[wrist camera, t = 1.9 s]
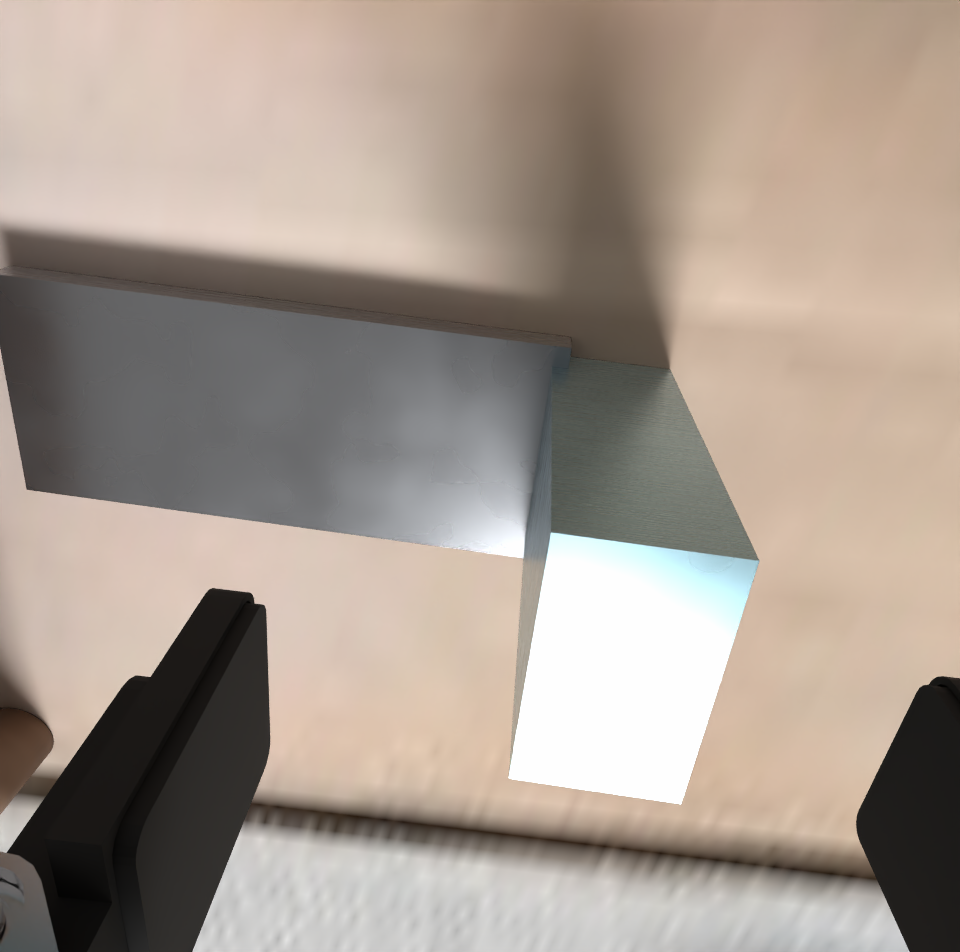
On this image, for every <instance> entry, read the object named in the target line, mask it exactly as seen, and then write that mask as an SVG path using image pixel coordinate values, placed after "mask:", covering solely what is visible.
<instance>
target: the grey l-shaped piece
mask: <svg viewBox="0 0 960 952" xmlns="http://www.w3.org/2000/svg"><path fill="white" fill-rule="evenodd" d="M0 349H1V354H2V359H3V365H4V370H5V375H6V381H7V386H8V391H9V397H10V402H11V407H12V413H13V418H14V424H15V429H16V434H17V440H18V445H19V450H20V456H21V461H22V466H23V472H24V477H25V482H26V488H27V490H33V491H41V492H48V493H55V494H62V495H70V496H77V497H84V498H91V499H99V500H106V501H113V502H120V503H128V504H135V505H142V506H149V507H157V508H164V509H171V510H178V511H186V512H193V513H200V514H207V515H214V516H222V517H229V518H236V519H243V520H251V521H258V522H265V523H272V524H280V525H287V526H294V527H301V528H309V529H316V530H323V531H330V532H338V533H345V534H352V535H359V536H367V537H374V538H381V539H388V540H395V541H403V542H410V543H417V544H424V545H432V546H439V547H446V548H453V549H461V550H468V551H475V552H482V553H490V554H497V555H504V556H511V557H519V558H524V559H523V574H522V589H521V604H520V619H519V634H518V649H517V664H516V679H515V694H514V709H513V724H512V739H511V753H510V768H509V778H510V779H516V780H523V781H530V782H537V783H543V784H550V785H557V786H564V787H570V788H577V789H584V790H591V791H597V792H604V793H611V794H618V795H624V796H631V797H638V798H645V799H651V800H658V801H665V802H672V803H678V804H681V802H682V799H683V796H684V792H685V789H686V786H687V783H688V780H689V777H690V774H691V771H692V768H693V765H694V762H695V758H696V755H697V752H698V749H699V746H700V743H701V740H702V737H703V734H704V731H705V728H706V724H707V721H708V718H709V715H710V712H711V709H712V706H713V703H714V700H715V697H716V693H717V690H718V687H719V684H720V681H721V678H722V675H723V672H724V669H725V666H726V663H727V659H728V656H729V653H730V650H731V647H732V644H733V641H734V638H735V635H736V632H737V629H738V625H739V622H740V619H741V616H742V613H743V610H744V607H745V604H746V601H747V598H748V595H749V591H750V588H751V585H752V582H753V579H754V576H755V573H756V570H757V567H758V564H759V559H758V557H757V555H756V553H755V551H754V548H753V546H752V544H751V542H750V540H749V538H748V536H747V533H746V531H745V529H744V527H743V525H742V523H741V520H740V518H739V516H738V514H737V512H736V510H735V508H734V505H733V503H732V501H731V499H730V497H729V495H728V493H727V490H726V488H725V486H724V484H723V482H722V480H721V478H720V475H719V473H718V471H717V469H716V467H715V465H714V463H713V460H712V458H711V456H710V454H709V452H708V450H707V447H706V445H705V443H704V441H703V439H702V437H701V435H700V432H699V430H698V428H697V426H696V424H695V422H694V420H693V417H692V415H691V413H690V411H689V409H688V407H687V405H686V402H685V400H684V398H683V396H682V394H681V392H680V389H679V387H678V385H677V383H676V381H675V379H674V377H673V374H672V372H671V370H670V369H663V368H655V367H647V366H639V365H632V364H624V363H616V362H608V361H600V360H593V359H585V358H577V357H570V355H571V349H572V346H571V337H566V336H559V335H551V334H543V333H535V332H527V331H520V330H512V329H504V328H496V327H488V326H480V325H473V324H465V323H457V322H449V321H441V320H433V319H426V318H418V317H410V316H402V315H394V314H387V313H379V312H371V311H363V310H355V309H347V308H340V307H332V306H324V305H316V304H308V303H301V302H293V301H285V300H277V299H269V298H261V297H254V296H246V295H238V294H230V293H222V292H215V291H207V290H199V289H191V288H183V287H175V286H168V285H160V284H152V283H144V282H136V281H128V280H121V279H113V278H105V277H97V276H89V275H82V274H74V273H66V272H58V271H50V270H42V269H35V268H27V267H19V266H10V267H7V268H3V269H0Z"/></svg>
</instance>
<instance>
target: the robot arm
mask: <svg viewBox="0 0 960 952" xmlns="http://www.w3.org/2000/svg"><path fill="white" fill-rule="evenodd" d="M269 749H270V717H269V685H268V654H267V623H266V608H265V606H264V605H261V604H254V598H253V595H252V594H251V593H248V592H240V591H231V590H223V589H215V588H212V589H209V590H208V592H207V593H206V594H205V595H204V597H203V598H202V600H201V601H200V603H199V604H198V606H197V607H196V609H195V610H194V612H193V614H192V615H191V617H190V618H189V620H188V621H187V623H186V624H185V626H184V627H183V629H182V630H181V632H180V633H179V635H178V636H177V638H176V639H175V641H174V642H173V644H172V645H171V647H170V648H169V650H168V651H167V653H166V654H165V656H164V658H163V659H162V661H161V662H160V664H159V665H158V667H157V668H156V670H155V671H154V673H153V674H152V676H151V677H145V676H134V677H132V678H131V679H129V680H128V681H127V682H126V683H125V685H124V686H123V687H122V688H121V689H120V691H119V692H118V694H117V695H116V697H115V698H114V700H113V701H112V702H111V704H110V705H109V707H108V708H107V710H106V711H105V712H104V714H103V715H102V717H101V718H100V720H99V721H98V722H97V724H96V725H95V727H94V728H93V730H92V731H91V733H90V734H89V735H88V737H87V738H86V740H85V741H84V743H83V744H82V745H81V747H80V748H79V750H78V751H77V753H76V754H75V755H74V757H73V758H72V760H71V761H70V763H69V764H68V766H67V767H66V768H65V770H64V771H63V773H62V774H61V776H60V777H59V778H58V780H57V781H56V783H55V784H54V786H53V787H52V789H51V790H50V791H49V793H48V794H47V796H46V797H45V799H44V800H43V801H42V803H41V804H40V806H39V807H38V809H37V810H36V811H35V813H34V814H33V816H32V817H31V819H30V820H29V822H28V823H27V824H26V826H25V827H24V829H23V830H22V832H21V833H20V834H19V836H18V837H17V839H16V840H15V842H14V843H13V844H12V846H11V847H10V849H9V850H8V852H7V853H4V852H0V952H192V951H193V948H194V946H195V943H196V941H197V938H198V936H199V933H200V931H201V928H202V926H203V923H204V920H205V918H206V915H207V913H208V910H209V908H210V905H211V903H212V900H213V898H214V895H215V893H216V890H217V888H218V885H219V883H220V880H221V878H222V875H223V873H224V870H225V867H226V865H227V862H228V860H229V857H230V855H231V852H232V850H233V847H234V845H235V842H236V840H237V837H238V835H239V832H240V830H241V827H242V825H243V822H244V820H245V817H246V814H247V812H248V809H249V807H250V804H251V802H252V799H253V797H254V794H255V792H256V789H257V787H258V784H259V782H260V779H261V777H262V774H263V772H264V769H265V766H266V763H267V759H268V755H269ZM856 827H857V834H858V837H859V840H860V843H861V845H862V847H863V849H864V852H865V854H866V856H867V858H868V861H869V863H870V865H871V867H872V869H873V872H874V874H875V876H876V878H877V880H878V883H879V885H880V887H881V889H882V892H883V894H884V896H885V898H886V900H887V903H888V905H889V907H890V909H891V912H892V914H893V916H894V918H895V920H896V923H897V925H898V927H899V929H900V931H901V934H902V936H903V938H904V940H905V943H906V945H907V947H908V949H909V951H910V952H960V678H952V677H944V676H942V677H936V678H935V679H933V680H932V681H931V682H930V684H929V685H923V686H922V687H920V688H919V690H918V691H917V693H916V695H915V697H914V699H913V701H912V703H911V705H910V707H909V709H908V711H907V713H906V715H905V717H904V719H903V721H902V723H901V725H900V728H899V730H898V732H897V734H896V736H895V738H894V740H893V742H892V744H891V746H890V748H889V750H888V752H887V754H886V756H885V758H884V760H883V762H882V764H881V766H880V768H879V770H878V772H877V774H876V776H875V778H874V781H873V783H872V785H871V787H870V789H869V791H868V793H867V795H866V797H865V799H864V801H863V803H862V805H861V807H860V809H859V811H858V814H857V820H856Z"/></svg>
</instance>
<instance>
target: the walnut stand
mask: <svg viewBox="0 0 960 952" xmlns="http://www.w3.org/2000/svg"><path fill="white" fill-rule="evenodd" d="M52 748H53V737H52V734H51V732H50V730H49V729H48V728H47V726H46V725H45V724H44V723H43V722H42V721H41V720H39V719H38V718H37V717H35V716H33V715H32V714H30V713H27V712H25V711H22V710H18V709H12V708H6V709H0V814H1V813H2V812H3V811H4V809H5V808H6V807H7V806H8V804H9V803H10V802H11V801H12V799H13V798H14V797H15V796H16V794H17V793H18V792H19V790H20V789H21V788H22V787H23V785H24V784H25V783H26V782H27V780H28V779H29V778H30V777H31V775H32V774H33V773H34V772H35V770H36V769H37V768H38V767H39V765H40V764H41V763H42V761H43V760H44V759H45V758H46V756H47V755H48V754H49V753H50V751H51V750H52Z"/></svg>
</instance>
